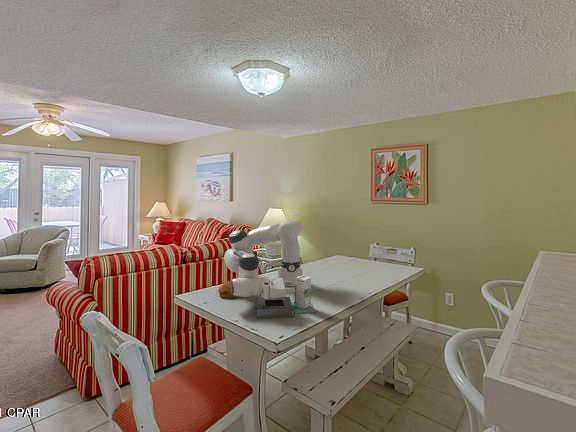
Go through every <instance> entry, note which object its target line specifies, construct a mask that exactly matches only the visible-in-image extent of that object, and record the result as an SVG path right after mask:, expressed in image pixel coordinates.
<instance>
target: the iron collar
mask: <svg viewBox="0 0 576 432" xmlns="http://www.w3.org/2000/svg"><path fill="white" fill-rule="evenodd" d="M256 297H257V298H256V299H257V300H256V320H258V319H259V320H260V319H288V318H289V319H292V318H294V312H293V307H292V304H291V302H292V300H291V297H290V296H285V297H283V298H270V297H269V299H264V298H263V297H261V296H256Z"/></svg>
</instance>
